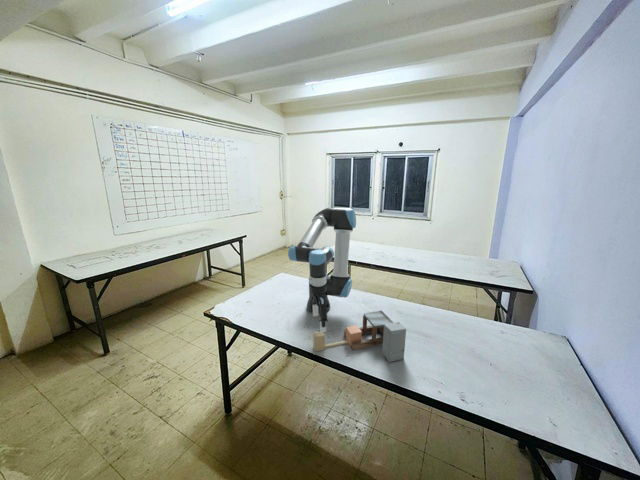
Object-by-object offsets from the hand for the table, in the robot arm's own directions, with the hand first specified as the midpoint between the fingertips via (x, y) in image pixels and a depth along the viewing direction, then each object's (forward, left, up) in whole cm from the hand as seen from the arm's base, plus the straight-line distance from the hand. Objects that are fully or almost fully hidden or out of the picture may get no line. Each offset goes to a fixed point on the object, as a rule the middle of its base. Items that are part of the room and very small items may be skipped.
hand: (319, 323), depth 122 cm
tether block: (+1, +9, -13) cm, 16 cm away
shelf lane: (0, +25, -13) cm, 28 cm away
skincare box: (+15, +32, -14) cm, 38 cm away
